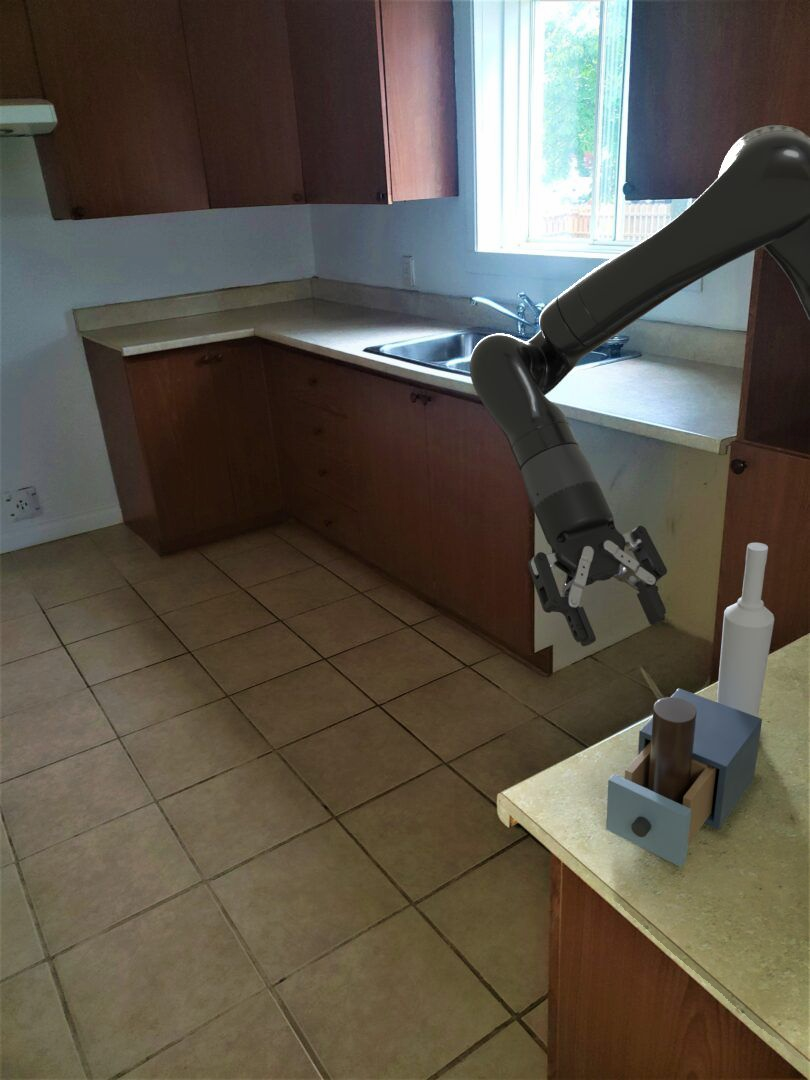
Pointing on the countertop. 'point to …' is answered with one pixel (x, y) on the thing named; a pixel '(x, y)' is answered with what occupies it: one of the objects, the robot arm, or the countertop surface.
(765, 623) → the bottle
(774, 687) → the countertop surface
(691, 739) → the pepper mill
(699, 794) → the drawer
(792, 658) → the countertop surface
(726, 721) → the cabinet
